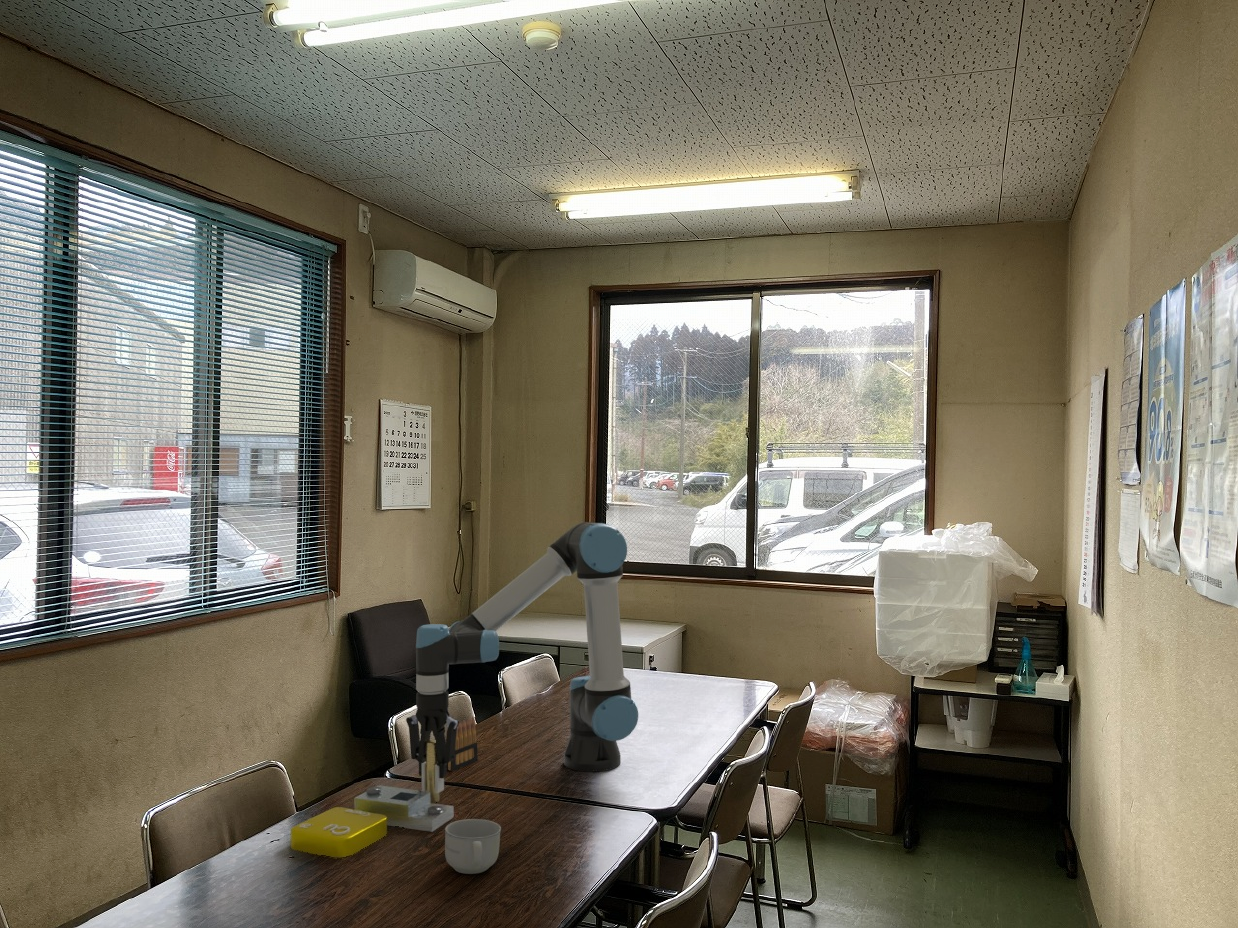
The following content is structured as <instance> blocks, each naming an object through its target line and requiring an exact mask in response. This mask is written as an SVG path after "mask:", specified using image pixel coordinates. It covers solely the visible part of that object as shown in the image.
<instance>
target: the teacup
mask: <svg viewBox="0 0 1238 928" xmlns="http://www.w3.org/2000/svg"><path fill="white" fill-rule="evenodd" d="M501 831H502V827H501V825H500V824H499V823H497V822H496V821H495V822H494V821H492V820H489V819H481V818H468V819H467V818H464V819H459V820H456V821H452V822H451V823H449V824H447V825H446V826H445V827H444V832H445V837H444V838H445V839H444V857H445V860H446V862H447V863H448V865H449V866H451V868H452V869H454V870H455V871H456V872H458V873H460V874H465V875H474V874H475V875H477V874H481V873H484V872H485V871H487V870H489V868H490V867H492V866H493V865H494V864H495V863H496V862H497V859H498V857H499V851H500V842H501V841H500V840H501Z"/></svg>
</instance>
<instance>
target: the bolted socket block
mask: <svg viewBox="0 0 1238 928" xmlns="http://www.w3.org/2000/svg"><path fill="white" fill-rule="evenodd" d="M353 800H354V803H353V805H354V809H353V810H359V811H365V812H370V813H376V814H382V815H385V816H386V817H387V827H388V826H391V827H395V826H399V827H398V828H402V827H404V828H403V829H410V830H418V831H422V832H423V831H424V832H431V833H433V832H434V831H436V830H437V829H439V828H440V827H442V826H443V825H445V824H446V823H448V822H449V821H451V820H452V819H453V818H454V811H455V809H454V805H450V804H449V805H448V804H440V803H430V792H427V791H422V790H417V789H412V788H411V789H410V788H403V787H402V788H401V787H395V786H389V785H388V786H387V785H381V784H380V785H379V784H377V785H376V786H371V787H368V788H366V791H365V792H363V793H361V794H360V795H358V796H355V797H354V799H353Z"/></svg>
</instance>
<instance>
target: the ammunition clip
mask: <svg viewBox="0 0 1238 928" xmlns="http://www.w3.org/2000/svg"><path fill="white" fill-rule="evenodd" d="M478 753H479V751H478V741H477V731H476V722H475V717H474V716H472V717H471V719H470V718H467V721H466V720H465V719H463V721H460V720H459V725H458V727H457V731H456V744H455V757H454V760H452V761H451V762H449V763H447V770H449V771H448V772H454V771H453V770H455V771H457V770H459V769H458V768H460V767H462V768H464V767H466V766H469V765H471V764H473V763H476V762H478V761H479V758H478V757H479V756H478ZM456 769H457V770H456ZM460 769H461V768H460Z"/></svg>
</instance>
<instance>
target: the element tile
mask: <svg viewBox="0 0 1238 928" xmlns="http://www.w3.org/2000/svg"><path fill="white" fill-rule="evenodd" d="M386 834H387V835H388V825H387V817H386V816H385V815H382V814H376V813H370V812H365V811H359V810H354V809H353V808H348V807H347V808H346V807H341V806H336V807H335V806H334V807H332V808H331V809H328V810H326V811H324V812H322V813H320V814H318V815H316V816H313V817H311V818H309V819H307V820H305V821H303V822H301V823H298V824H296V825H294V826H292V827H291V829H290V849H291V850H293V851H297V850H298V851H297V852H302V851H303V853H307V852H308V854H312V855H316V854H317V855H316V856H321V855H326V856H331V857H346V856H349V855H352V856H353V854H354V853H355V854H357V853H359V852H361V851H362V850H361V849H363V848H364V849H366V848H368V847H369V845H370V844H371V845H373V844H374V842H375V843H377V842H378V841H380V840H382V839H383V838H382V837H384V836H385V837H387V835H386ZM385 837H384V838H385ZM381 838H382V839H381ZM379 839H380V840H379ZM377 840H378V841H377ZM376 841H377V842H376ZM372 843H373V844H372ZM371 845H370V846H371ZM367 846H368V847H367ZM365 847H366V848H365ZM364 849H363V850H364ZM360 850H361V851H360ZM358 851H359V852H358ZM356 852H357V853H356ZM355 854H354V855H355ZM326 856H325V857H326ZM331 857H330V858H331Z"/></svg>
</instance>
